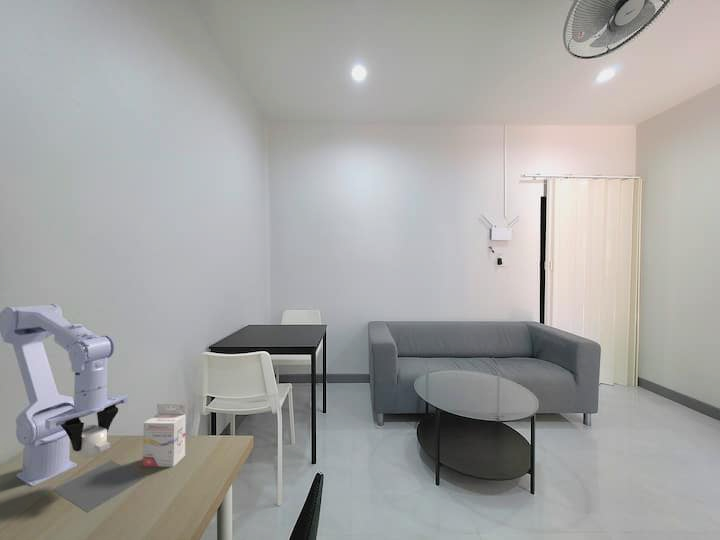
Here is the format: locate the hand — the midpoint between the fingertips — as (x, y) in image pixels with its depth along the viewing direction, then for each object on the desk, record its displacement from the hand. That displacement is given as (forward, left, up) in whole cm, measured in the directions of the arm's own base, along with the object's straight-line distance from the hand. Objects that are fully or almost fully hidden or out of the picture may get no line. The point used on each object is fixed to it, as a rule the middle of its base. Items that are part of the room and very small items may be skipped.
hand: (89, 444), depth 66 cm
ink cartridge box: (+9, +12, -10) cm, 18 cm away
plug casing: (+1, 0, -1) cm, 2 cm away
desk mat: (+3, +1, -9) cm, 10 cm away
